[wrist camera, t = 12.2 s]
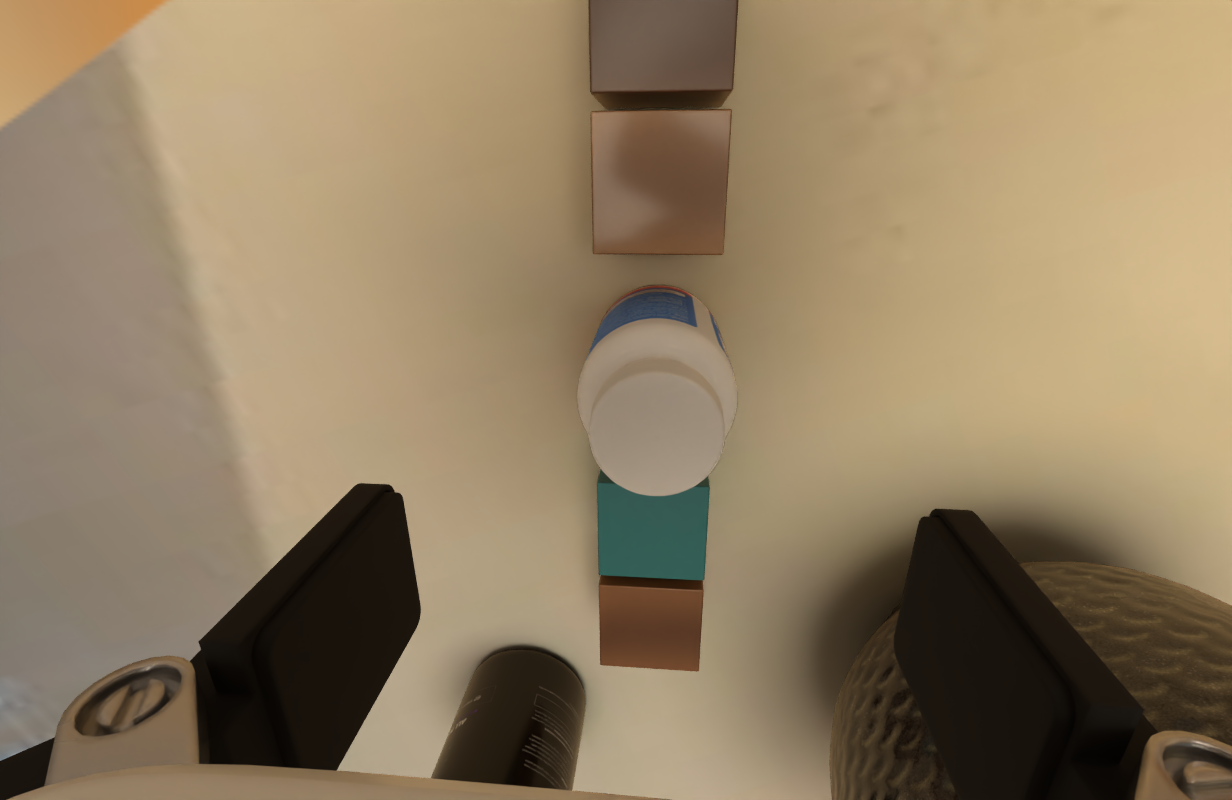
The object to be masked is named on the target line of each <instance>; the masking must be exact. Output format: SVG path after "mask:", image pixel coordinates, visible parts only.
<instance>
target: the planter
mask: <svg viewBox="0 0 1232 800" xmlns="http://www.w3.org/2000/svg"><path fill="white" fill-rule="evenodd" d="M1018 564H1019V565H1020V566H1021V567H1022V568H1023V569H1024V571H1025V572H1026V573H1027V574H1028V575H1029V576H1030V578H1031V579H1032V580H1033V581H1034V582H1035V583H1036V585H1037V586H1038V587H1039V588H1040V589H1041V590H1042V591H1043V593H1044V594H1045V595H1046V596H1047V597H1048V598H1049V600H1050V601H1051V602H1052V603H1053V604H1054V605H1055V607H1056V608H1057V609H1058V610H1059V611H1060V612H1061V614H1062V615H1063V616H1064V617H1065V618H1066V619H1067V621H1068V622H1069V623H1070V624H1071V625H1072V626H1073V628H1074V629H1075V630H1076V631H1077V632H1078V633H1079V634H1080V636H1081V637H1082V638H1083V639H1084V640H1085V641H1086V643H1087V644H1088V645H1089V646H1090V647H1091V648H1092V650H1093V651H1094V652H1095V653H1096V654H1097V655H1098V657H1099V658H1100V659H1101V660H1102V661H1103V662H1104V664H1105V665H1106V666H1107V667H1108V668H1109V669H1110V671H1111V672H1112V673H1113V674H1114V675H1115V676H1116V677H1117V679H1118V680H1119V681H1120V682H1121V683H1122V684H1123V686H1124V687H1125V688H1126V689H1127V690H1128V691H1129V693H1130V694H1131V695H1132V696H1133V697H1134V698H1135V700H1136V701H1137V702H1138V703H1139V704H1140V705H1141V707H1142V708H1143V709H1144V711H1143V713H1142V714H1143V715H1144V716H1145V717H1146V718H1147V720H1148V721H1149V722H1150V723H1151V724H1152V725H1153V727H1154V728H1155V729H1156V730H1157V731H1158V732H1159V733H1160V732H1162V731H1186V732H1190V733H1194V734H1199V735H1203V736H1207V737H1209V738H1212V739H1214V740H1217V741H1220V742H1222V743H1225V744H1227V745H1230V746H1232V606H1231V605H1229V604H1227V603H1225V602H1222V601H1220V600H1218V599H1216V598H1214V597H1212V596H1209V595H1207V594H1205V593H1202V592H1200V591H1198V590H1195V589H1193V588H1190V587H1188V586H1185V585H1182V584H1179V583H1176V582H1173V581H1171V580H1168V579H1165V578H1161V577H1158V576H1154V575H1151V574H1147V573H1144V572H1140V571H1137V570H1133V569H1128V568H1121V567H1114V566H1107V565H1100V564H1093V563H1086V562H1065V561H1034V562H1025V563H1018ZM900 606H901V603H900V604H899V605H898V606H897V607H896V608H895V610H894V611H893V612H892V613H891V615H890V616H889V617H888V618H887V620H886V622H885V623H884V624H882V625H881V626H880V627H879V628H878V629H877V631H876V632H875V633H874V634H873V635H872V637H871V638H870V639H869V640H868V642H867V643H866V644H865V645H864V647H863V648H862V650H861V651H860V653H859V654H858V656H857V658H856V659H855V661H854V663H853V665H852V667H851V668H850V670H849V672H848V674H847V676H846V678H845V680H844V683H843V685H842V688H841V691H840V694H839V697H838V700H837V703H836V706H835V712H834V718H833V726H832V735H831V744H830V779H831V793H832V800H959V798H958V796H957V794H956V791H955V789H954V787H953V785H952V782H951V780H950V778H949V776H948V774H947V771H946V769H945V767H944V765H943V762H942V760H941V758H940V756H939V753H938V751H937V749H936V747H935V744H934V742H933V740H932V738H931V735H930V733H929V731H928V729H927V726H926V724H925V722H924V720H923V718H922V715H921V713H920V711H919V709H918V706H917V704H916V702H915V700H914V697H913V695H912V693H911V691H910V688H909V686H908V684H907V682H906V679H905V677H904V675H903V673H902V671H901V668H900V666H899V664H898V662H897V659H896V656H895V652H894V634H895V629H896V624H897V620H898V615H899V611H900Z"/></svg>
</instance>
